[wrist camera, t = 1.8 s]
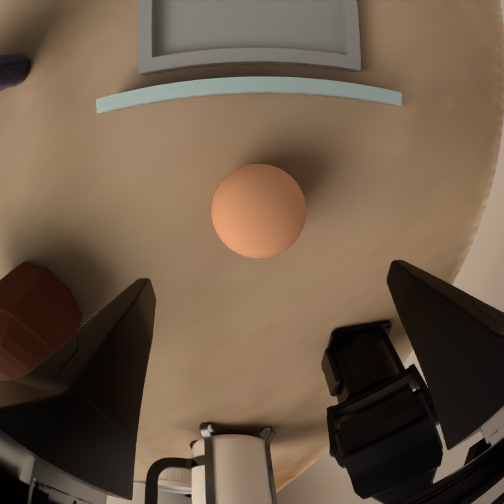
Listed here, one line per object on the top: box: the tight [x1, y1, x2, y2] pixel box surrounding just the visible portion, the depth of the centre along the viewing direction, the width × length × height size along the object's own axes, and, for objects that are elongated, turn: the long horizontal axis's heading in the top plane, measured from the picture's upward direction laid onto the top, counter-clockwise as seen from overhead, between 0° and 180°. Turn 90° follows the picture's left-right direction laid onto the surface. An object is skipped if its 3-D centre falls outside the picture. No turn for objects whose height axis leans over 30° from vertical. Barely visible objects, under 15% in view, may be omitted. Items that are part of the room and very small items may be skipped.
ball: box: [211, 164, 306, 258], centre depth 15 cm, size 5×5×5 cm
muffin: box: [0, 262, 82, 381], centre depth 15 cm, size 12×11×10 cm
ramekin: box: [158, 468, 192, 494], centre depth 45 cm, size 13×13×7 cm
